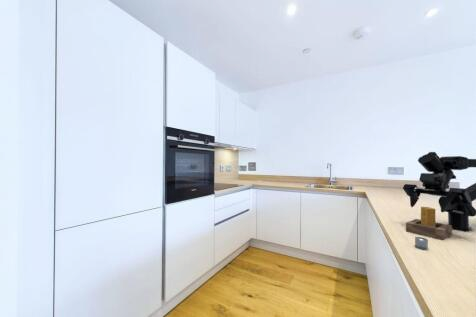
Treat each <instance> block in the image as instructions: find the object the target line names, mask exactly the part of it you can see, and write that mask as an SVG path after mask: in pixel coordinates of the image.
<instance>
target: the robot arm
mask: <svg viewBox="0 0 476 317" xmlns="http://www.w3.org/2000/svg"><path fill="white" fill-rule="evenodd" d="M417 162H418V163H419V164H420V165H421V166H422V168H424V170H426V172H422V173H420V176H419V179H418V181H419V182H421V183H422V187H423V188H422V187H418V186H417V184H413V183H412V184H410V183H406V184H404V185H403V186H402V190H403V191H404V193H405V195H407V196H408V197H409V200H410V201H409V204H410V207H411V208H414V207H415V205H416V204H417V202H418V201H419V200H420V198H419V197H420V196H421V194H424V195H431V196H436V197H439V199H438V205H439V207H440V212H441V213H445V212H446V213H447V223H448V224H447V225H452V230H453V229H454V230H459V231H464V232H470V231H472V230H473V227H472V226H471V227H470V221H469V220H470V219H469V218H470V217H476V208H475V207H474V206H473V201H475V200H476V182H475V183H473V184H471V185H469V186H467V187H466V188H461V187H460V188H459V187H450V185H449V184H450V183H451V180H456V179H457V177H456V175H455V174H454V171H463V170H467V169H470V168H476V158H468V157H465V156H461V155H458V156H457V155H453V156H452V155H451V156H450V155H449V156H441V157H440V156H438V154H437V153H436V152H435V151H429V152H428V153H426V154H424V155H422V156H420V157H418V158H417ZM427 172H428V173H427ZM447 189H448V191H447Z"/></svg>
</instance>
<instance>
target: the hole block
mask: <svg viewBox="0 0 476 317" xmlns="http://www.w3.org/2000/svg"><path fill="white" fill-rule="evenodd" d="M405 232H407V233H411V234H415V235H419V236H423V235H424V236H423V237H427V236H428V237H429V238H431V237H432V239H436V238H437V240H441V241H444V240H446V239H448V238H450V237H451V236H452V235H453V228H452V225H448V224H446V223H440V222H436V228H435V227H430V226H426V225H421V218H420V219H418V218H414V219H412V220H409V221H407V222H405ZM428 237H427V238H428Z"/></svg>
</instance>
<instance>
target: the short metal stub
mask: <svg viewBox="0 0 476 317" xmlns="http://www.w3.org/2000/svg"><path fill="white" fill-rule="evenodd" d="M414 247H415V248H416V249H418V250H423V251H427V250H429V240H428V238H424V237H423V236H422V237H421V236H415V237H414Z"/></svg>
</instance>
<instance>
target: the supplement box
mask: <svg viewBox="0 0 476 317" xmlns="http://www.w3.org/2000/svg"><path fill="white" fill-rule="evenodd" d="M420 220H421V225H426V226H430V227H435V228H436V223H437V222H436V208H433V207H429V206H420Z"/></svg>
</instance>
